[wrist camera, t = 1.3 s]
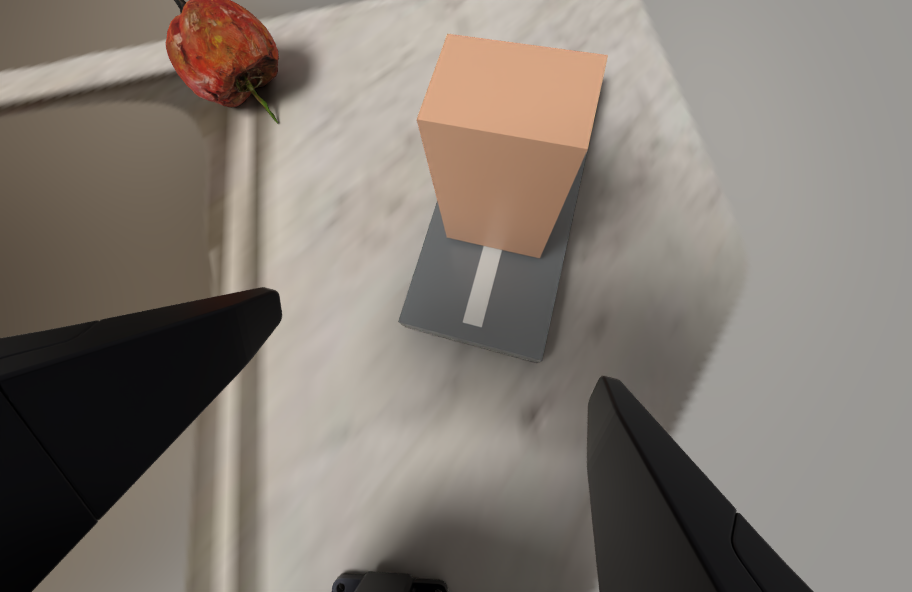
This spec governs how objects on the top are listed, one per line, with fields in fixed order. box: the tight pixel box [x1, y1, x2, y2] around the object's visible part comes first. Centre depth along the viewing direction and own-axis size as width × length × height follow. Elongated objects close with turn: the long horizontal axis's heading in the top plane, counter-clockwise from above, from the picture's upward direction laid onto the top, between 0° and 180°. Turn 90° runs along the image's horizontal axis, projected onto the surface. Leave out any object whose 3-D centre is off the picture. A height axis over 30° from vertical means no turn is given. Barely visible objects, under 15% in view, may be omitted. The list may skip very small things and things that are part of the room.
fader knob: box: [417, 34, 608, 258], centre depth 17 cm, size 4×6×10 cm, turn 74°
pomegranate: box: [166, 0, 279, 123], centre depth 26 cm, size 7×7×10 cm
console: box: [398, 66, 606, 363], centre depth 24 cm, size 22×9×2 cm, turn 164°
